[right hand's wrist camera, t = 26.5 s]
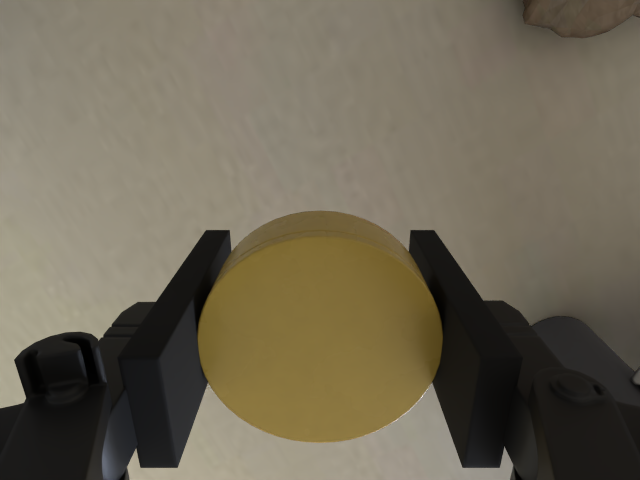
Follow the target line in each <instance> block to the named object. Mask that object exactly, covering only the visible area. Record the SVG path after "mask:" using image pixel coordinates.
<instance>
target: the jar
mask: <svg viewBox="0 0 640 480" xmlns="http://www.w3.org/2000/svg"><path fill="white" fill-rule="evenodd" d="M532 328H533V329H534V330H535V331H536V333H537V336H540V338H541V339H542V340H543V341H544V342H545V344H546V345H547V346H548V347H549V349H550V350H551V351H552V352H553V353H554V355H555V356H556V357H557V358H558V360H559V361H560V362H561V363H562V365H563V366H564V367H565V368H568V369H571V370H575V371H579V372H581V373H583V374H586V375H588V376H590V377H592V378H594V379H595V380H597V381H598V382H599V383H601V384H602V385H603V386H605V387H606V388H607V389H608V391H609V392H610V393H611V395H612V396H613V397H614V399H615V401H618V402H622V403H625V404H630V405H635V406H640V386H638V385H636V384H634V383H633V382H632V381H631V379H630V378H631V376H632V375H633V374H634V373H635V372H634V371H633V370H632V369H631V368H630V367H629V366H628V365H627V364H626V363H625V362H624V361H623V360H622V359H621V358H620V357H619V356H618V355H617V354H616V353H615V352H614V351H613V350H611V349H610V348H609V347H608V346H607V345H606V344H605V343H604V342H603V341H602V340H601V339H600V338H599V337H598V336H597V335H596V334H595V333H594V332H593V331H592V330H591V329H590V328H589V327H588V326H587V325H586V324H584V323H583V322H582V321H580V320H577V319H575V318H571V317H553V318H549V319H545V320H543V321H541V322H538V323H537V324H535V325H533V326H532Z"/></svg>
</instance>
